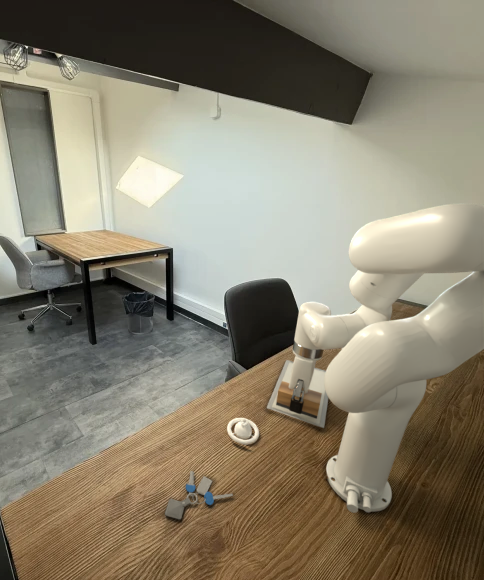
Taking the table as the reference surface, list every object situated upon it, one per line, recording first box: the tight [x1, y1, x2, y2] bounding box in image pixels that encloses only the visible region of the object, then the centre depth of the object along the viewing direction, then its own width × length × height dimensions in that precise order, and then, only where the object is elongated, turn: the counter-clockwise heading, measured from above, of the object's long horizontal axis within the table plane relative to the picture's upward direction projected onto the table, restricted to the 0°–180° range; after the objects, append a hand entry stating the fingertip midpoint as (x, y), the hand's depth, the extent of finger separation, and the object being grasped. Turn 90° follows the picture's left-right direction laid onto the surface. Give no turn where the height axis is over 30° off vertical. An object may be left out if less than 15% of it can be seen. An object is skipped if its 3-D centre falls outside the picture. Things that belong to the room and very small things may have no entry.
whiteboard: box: [266, 359, 329, 429], centre depth 94 cm, size 28×15×1 cm, turn 153°
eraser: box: [276, 381, 322, 419], centre depth 85 cm, size 5×11×5 cm, turn 63°
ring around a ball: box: [226, 417, 260, 446], centre depth 76 cm, size 8×6×8 cm
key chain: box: [164, 470, 234, 520], centre depth 62 cm, size 14×8×1 cm, turn 114°
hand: (297, 402), depth 86 cm, fingers open, 7 cm apart
